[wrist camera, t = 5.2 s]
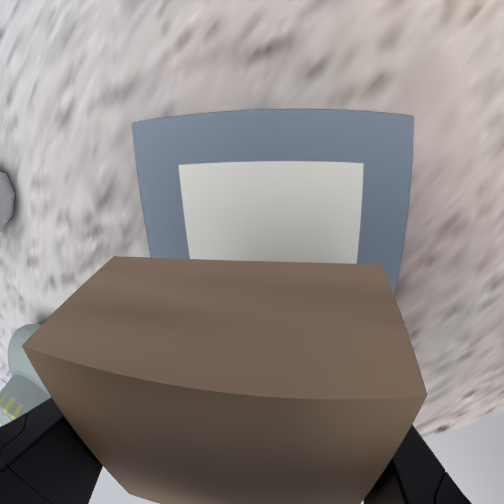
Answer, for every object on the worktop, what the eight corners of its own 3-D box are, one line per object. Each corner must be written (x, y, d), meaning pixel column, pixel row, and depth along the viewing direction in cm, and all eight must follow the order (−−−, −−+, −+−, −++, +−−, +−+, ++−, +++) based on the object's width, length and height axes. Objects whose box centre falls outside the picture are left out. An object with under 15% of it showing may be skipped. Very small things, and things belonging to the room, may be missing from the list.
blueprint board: (409, 115, 13) (414, 115, 12) (379, 344, 19) (381, 352, 18) (136, 122, 15) (130, 122, 15) (172, 334, 21) (169, 340, 21)
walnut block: (343, 430, 10) (342, 525, 7) (164, 413, 11) (129, 493, 8) (381, 264, 7) (427, 395, 4) (113, 256, 8) (21, 345, 5)
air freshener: (34, 296, 23) (-38, 366, 14) (109, 339, 23) (44, 432, 14) (45, 368, 28) (-2, 430, 19) (106, 404, 28) (65, 477, 19)
